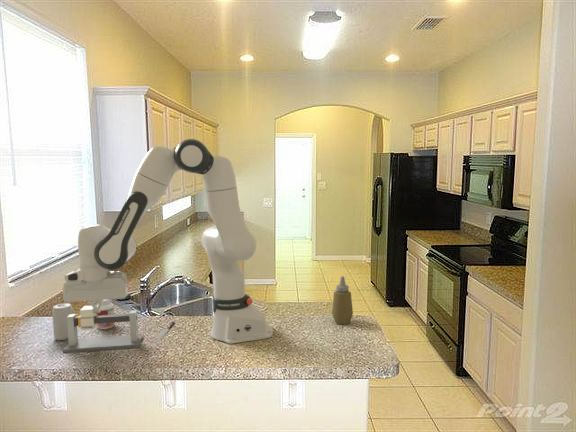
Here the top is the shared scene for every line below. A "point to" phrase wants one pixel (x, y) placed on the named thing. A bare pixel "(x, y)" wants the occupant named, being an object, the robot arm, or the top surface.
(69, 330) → the grey slider rail base
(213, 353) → the top surface
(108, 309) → the pill bottle
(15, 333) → the top surface
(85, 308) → the cream sliding block
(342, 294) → the squeeze bottle
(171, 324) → the chef's knife
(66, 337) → the beverage can
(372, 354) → the top surface
